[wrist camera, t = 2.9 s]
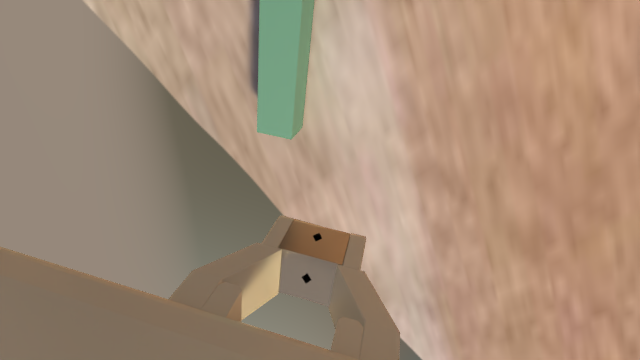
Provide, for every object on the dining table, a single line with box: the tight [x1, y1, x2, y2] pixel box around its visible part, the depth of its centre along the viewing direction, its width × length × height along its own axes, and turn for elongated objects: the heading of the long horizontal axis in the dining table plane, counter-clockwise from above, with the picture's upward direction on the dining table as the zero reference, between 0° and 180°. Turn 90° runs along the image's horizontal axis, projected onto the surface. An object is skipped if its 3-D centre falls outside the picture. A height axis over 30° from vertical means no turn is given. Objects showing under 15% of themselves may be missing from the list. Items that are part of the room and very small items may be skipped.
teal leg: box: [257, 0, 314, 139], centre depth 22 cm, size 13×3×3 cm, turn 173°
